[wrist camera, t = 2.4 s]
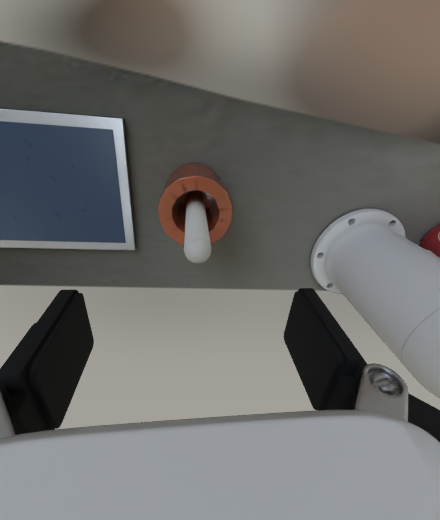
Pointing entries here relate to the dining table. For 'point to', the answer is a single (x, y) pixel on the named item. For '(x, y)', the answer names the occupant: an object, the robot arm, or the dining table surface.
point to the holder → (176, 197)
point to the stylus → (196, 229)
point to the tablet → (64, 182)
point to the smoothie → (432, 241)
